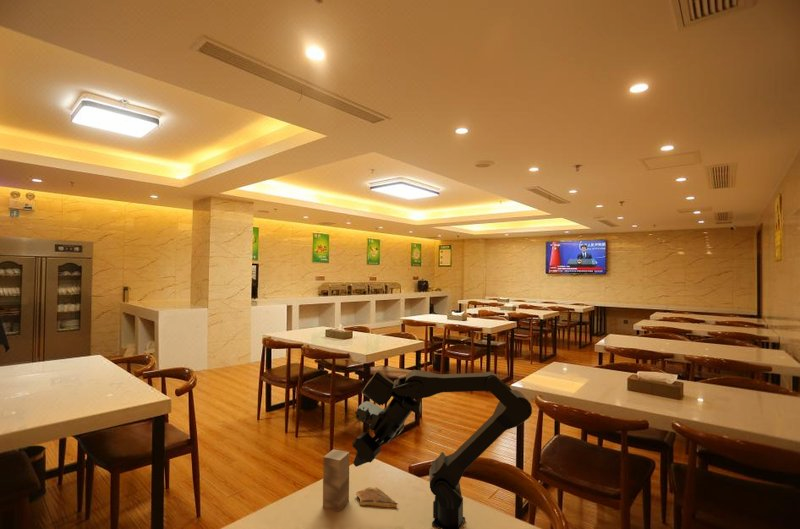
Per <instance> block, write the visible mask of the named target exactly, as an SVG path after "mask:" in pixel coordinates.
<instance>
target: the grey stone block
mask: <svg viewBox="0 0 800 529" xmlns="http://www.w3.org/2000/svg"><path fill="white" fill-rule="evenodd" d="M322 461H323V462H322V463H323V466H322V467H323V468H322V469H323V470H322V472H323V474H322V507H323V508H326V509H329V510H333V511H337V512H340V511H341V510H343V508H344V507H345V506H346V505H347V504H348V503H349V502H350V452H349V451H345V450H339V449H332V450H330V451H329V452H328V453H326V454H325V455H324V456H323V460H322Z"/></svg>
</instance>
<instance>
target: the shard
mask: <svg viewBox="0 0 800 529" xmlns="http://www.w3.org/2000/svg"><path fill="white" fill-rule="evenodd" d="M355 495H356V496H357V497H358V498H359V500H360V501H359V505H360V506H372V507H373V506H375V507H384V508H397V506H398V505H399V504H398V502H396V501H395V500H394V499H392V498H391V497H390V496H389V495H388V494H386V493H385V492H384V491H383V490H382V489H380V488H378V487H376V486H375V487H374V486H373V487H367V488H364V489H362V490H359V491H357V492H355Z"/></svg>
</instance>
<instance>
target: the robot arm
mask: <svg viewBox="0 0 800 529" xmlns="http://www.w3.org/2000/svg"><path fill="white" fill-rule="evenodd" d="M486 391H487V392H490V393H491V394H492V395H493V396H494V397H495V398H496V399H497V400H498V401H499V402H498V403H497V404H496V407H495V409H494V411H493V413H492V415H490V417H489V418H488V419H486V421H485V422H484V423H483V424H482V425H480V427H479V428H478V429H477V430H476V431H474V433H472V434H471V435H470V437H468V438H467V439H466V440H465V441H464V442H463V443H462V444H461V445H460V446H459V447H458V448H457V449H456V450H455V451H454V452H453V453H451V454H448V455H446V454H445V453H444V452H440V454H439V455H438V457H437V458H436V459H434V460H432V461H431V466H430V467H429V476H428V477H429V488H430V492H431V493H432V494H433V495H434V500H433V501H432V518H433V520H432V522H431V526H433V527H436V528H438V529H441V528H442V529H461V527H462V526H463V525H464V523H465V521H466V517H465V516H464V498H463V496H462V489H461V485H460V481H461V479H462V477H463V474H464V472H466V470H467V469H468V468H469V467H470V466H471V465H473V463H474V462H475V461H476V460H478V458H479V457H480V456H481V455H482V454H483V453H484V452H486V450H487V449H488V448H489V447H490V446H492V445H493V443H494V442H495V441H497V440H498V439H499V438H500V437H501V436H502V435H503V433H505V432H506V431H508V430H510V429H513V428H516V427H518V426H519V425H522V424H523V423H525V422H526V421H527V420H529V419H530V418H531V416H532V414H533V408H532V404H531V402H530V401H529V400H528V398H527V397H526V396H525V395H524V394H523V392H521V391H520V390H517V389H512V388H511V387H510V386H509V385H507V384H506V383H505V381H503V380H501V379H500V377H498V375H497V374H496V373H495V372H492V371H485V372H469V373H468V372H467V373H449V374H448V373H445V374H444V373H443V374H440V373H435V372H431V371H426V370H419V369H415V370H414V369H413V370H411V371H410V372H408V374H407V375H406V376H403V377H400V378H397V379H395V380H394V381H393V380H392V379H390V378H389V377H388V376H386V375H384V373H383V372H382V371H380V370H376V372H375V373H374V374H373V376H372V377H371V378H370V379H369V380H368V381H367V383H366V384H365V386H364V388H363V389H362V390H361V394H363V395H364V396H365V397H367V398H368V399H369V400H370V401H368V400H366V401H364V402H362V403H361V404H360V405H359V406H358V408H357V409H356V410H355V411H354V414H355V419H356V420H357V421H359V422H361V423H366V424H368V428H369V430H371V431H372V432H373V434H374V436H372V435H371V434H370V433H368V432H361V433H360V434H359V435H358V436H356V438H355V439H354V440H353V441H352V443H351V445H352V447H353V449H355V450H356V454H355V457H354V460H353V465H354V467H359V466H362V465H364V464H366V463H372V462H373V461H374V460H375V459H376V458H377V457H378V456H379V454H380V453H381V452H382V448H381V447H382V446H384V445H386V444H388V443H389V442H391V441H392V440H394V439H395V438H396V437H397V436H398V435H400V433H402V431H403V430H404V428H405V423H406V420H407V419H408V417H409V416H410V415H411V414H412V412H413V413H415V414H416V415H417V416H421V413H422V410H423V405H422V400H421V399H425V398H430V397H433V396H435V395H437V394H442V393H462V392H463V393H464V392H466V393H467V392H486ZM390 399H391V400H390ZM371 401H372V402H371ZM389 401H390V402H389ZM373 402H374V403H373ZM384 405H385V406H386V405H387V406H386V407H384V409H383V408H382V407H381V406H384Z"/></svg>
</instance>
